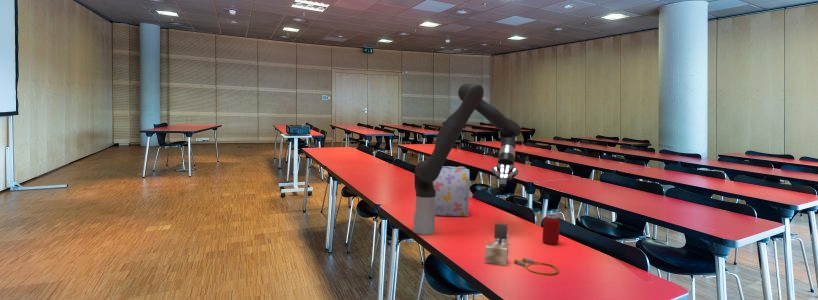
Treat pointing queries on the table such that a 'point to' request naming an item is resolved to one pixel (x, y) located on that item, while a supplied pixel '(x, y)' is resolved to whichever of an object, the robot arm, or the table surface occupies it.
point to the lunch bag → (452, 191)
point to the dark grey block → (500, 232)
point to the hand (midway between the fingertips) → (502, 185)
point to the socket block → (496, 254)
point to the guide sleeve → (504, 242)
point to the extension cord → (534, 264)
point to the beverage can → (551, 229)
